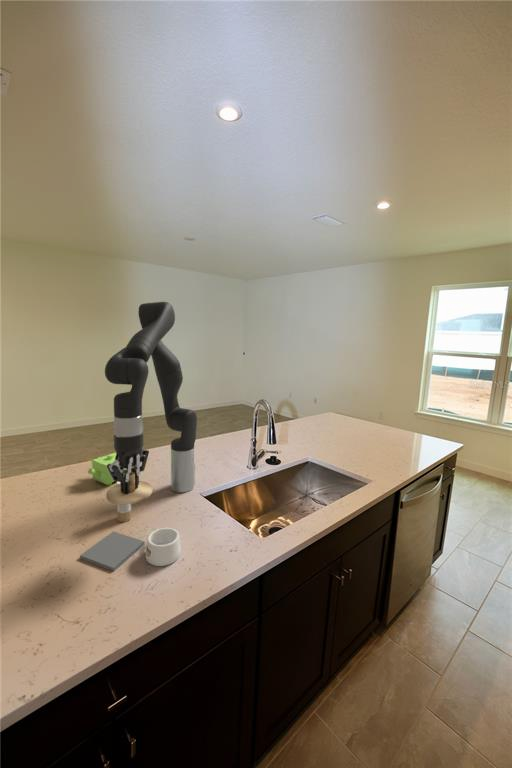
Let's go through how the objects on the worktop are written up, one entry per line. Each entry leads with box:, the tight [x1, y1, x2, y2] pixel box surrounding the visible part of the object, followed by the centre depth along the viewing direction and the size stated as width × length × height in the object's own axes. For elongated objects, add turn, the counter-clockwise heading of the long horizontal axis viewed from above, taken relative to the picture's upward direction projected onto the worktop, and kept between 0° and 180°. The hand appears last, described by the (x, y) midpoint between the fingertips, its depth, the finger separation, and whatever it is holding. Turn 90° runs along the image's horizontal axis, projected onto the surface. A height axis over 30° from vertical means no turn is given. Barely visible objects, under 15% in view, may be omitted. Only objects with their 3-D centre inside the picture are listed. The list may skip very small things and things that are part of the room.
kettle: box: [87, 452, 125, 486], centre depth 134 cm, size 15×14×11 cm
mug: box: [145, 527, 182, 567], centre depth 91 cm, size 12×10×6 cm
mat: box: [79, 530, 145, 572], centre depth 92 cm, size 12×12×1 cm
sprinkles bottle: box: [115, 481, 132, 523], centre depth 107 cm, size 5×5×13 cm
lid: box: [105, 472, 153, 505], centre depth 89 cm, size 12×12×6 cm
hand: (130, 490), depth 89 cm, fingers closed on lid, 2 cm apart
